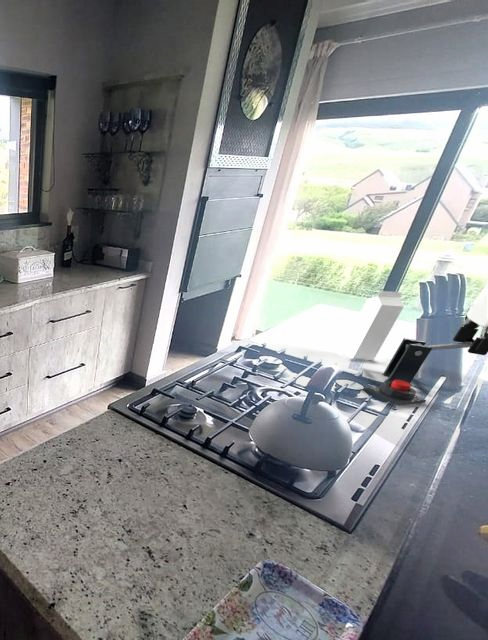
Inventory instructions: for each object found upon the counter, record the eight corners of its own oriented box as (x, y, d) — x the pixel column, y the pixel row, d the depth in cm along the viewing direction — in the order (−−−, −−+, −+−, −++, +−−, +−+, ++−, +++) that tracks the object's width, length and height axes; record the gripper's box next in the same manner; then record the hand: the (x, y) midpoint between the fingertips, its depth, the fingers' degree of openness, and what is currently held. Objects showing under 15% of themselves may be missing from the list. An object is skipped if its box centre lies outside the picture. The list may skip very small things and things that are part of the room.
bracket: (411, 382, 115) (437, 341, 109) (424, 396, 108) (452, 354, 102) (364, 372, 119) (386, 333, 113) (373, 386, 112) (397, 344, 106)
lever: (473, 344, 105) (474, 336, 104) (483, 352, 101) (484, 343, 100) (403, 350, 112) (403, 342, 111) (410, 357, 108) (410, 349, 107)
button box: (388, 391, 110) (396, 378, 108) (421, 407, 103) (430, 394, 101) (362, 393, 108) (370, 381, 106) (394, 410, 102) (403, 397, 100)
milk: (371, 364, 125) (411, 296, 114) (350, 362, 125) (387, 294, 114) (358, 355, 130) (394, 289, 119) (338, 354, 131) (372, 287, 120)
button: (396, 384, 106) (400, 379, 105) (411, 391, 103) (414, 385, 102) (386, 385, 105) (390, 380, 104) (400, 392, 102) (404, 386, 101)
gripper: (561, 292, 87) (507, 364, 95) (514, 274, 100) (471, 339, 109) (513, 286, 89) (464, 357, 98) (474, 269, 103) (434, 333, 112)
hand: (468, 347), depth 103 cm, fingers open, 7 cm apart
